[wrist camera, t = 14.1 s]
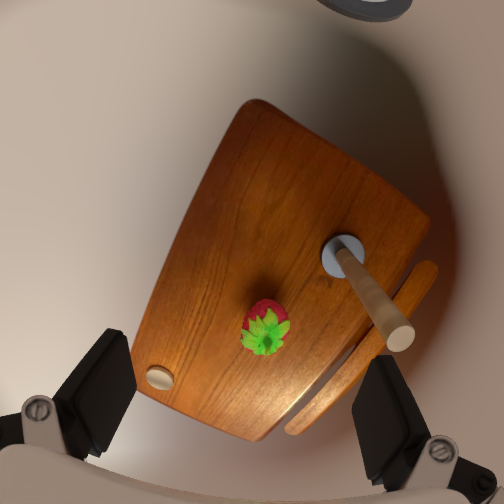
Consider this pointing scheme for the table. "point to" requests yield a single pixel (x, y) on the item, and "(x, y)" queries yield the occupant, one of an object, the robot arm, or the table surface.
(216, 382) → the table surface
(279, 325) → the strawberry
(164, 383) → the puck
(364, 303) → the post
